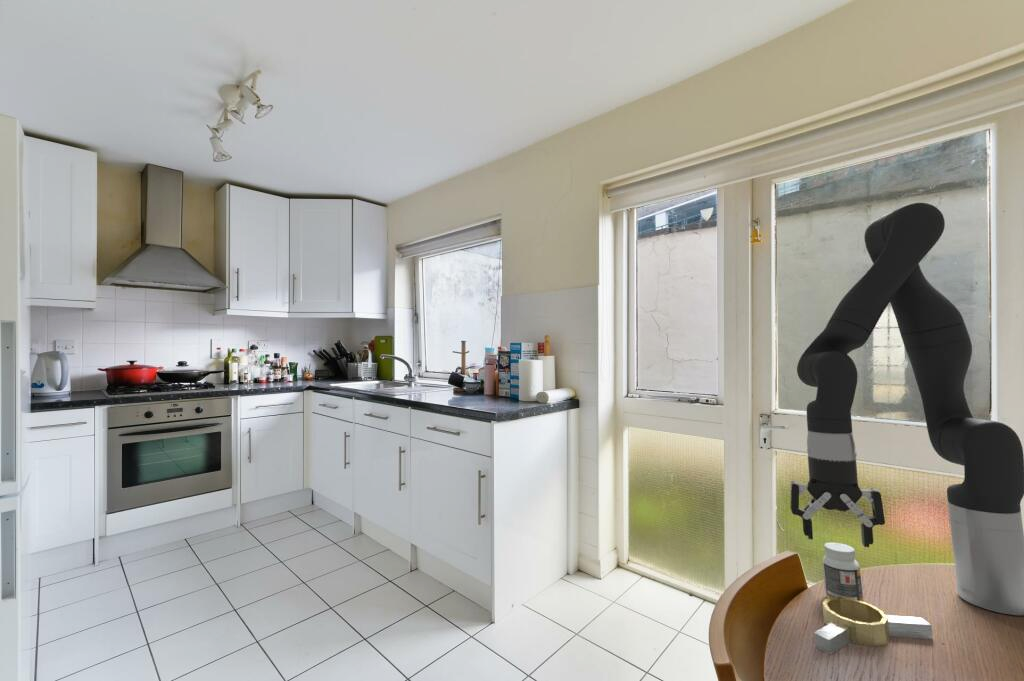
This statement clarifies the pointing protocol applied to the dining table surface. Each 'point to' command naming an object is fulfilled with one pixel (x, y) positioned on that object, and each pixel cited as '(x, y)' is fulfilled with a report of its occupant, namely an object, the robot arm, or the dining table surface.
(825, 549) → the pill bottle
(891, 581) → the dining table surface
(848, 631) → the stand
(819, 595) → the dining table surface
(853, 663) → the dining table surface
